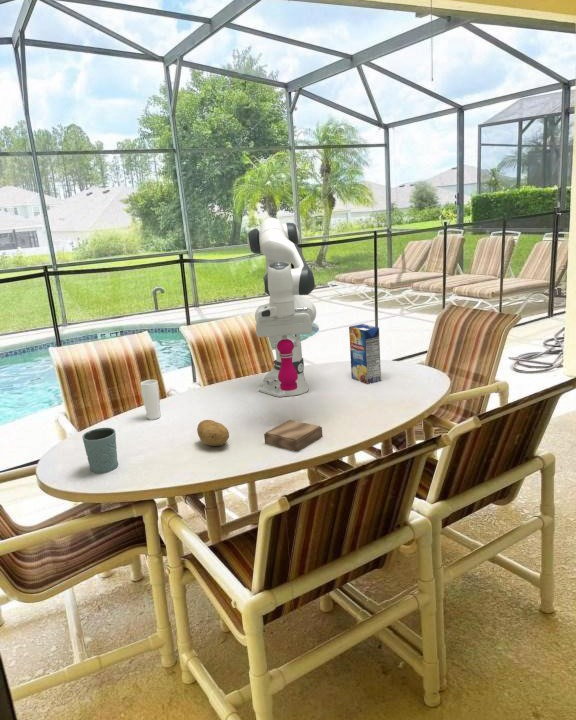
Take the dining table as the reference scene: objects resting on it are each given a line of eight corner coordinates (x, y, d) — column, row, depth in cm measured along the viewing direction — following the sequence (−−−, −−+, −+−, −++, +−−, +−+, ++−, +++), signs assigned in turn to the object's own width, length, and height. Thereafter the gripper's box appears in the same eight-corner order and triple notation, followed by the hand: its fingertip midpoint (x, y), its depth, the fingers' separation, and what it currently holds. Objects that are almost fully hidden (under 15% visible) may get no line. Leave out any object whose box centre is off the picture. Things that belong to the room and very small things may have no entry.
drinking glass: (166, 415, 225) (161, 379, 221) (155, 421, 219) (150, 385, 215) (152, 414, 227) (147, 378, 224) (142, 420, 222) (136, 384, 218)
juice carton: (351, 378, 253) (348, 326, 247) (365, 375, 256) (362, 323, 250) (367, 384, 242) (364, 330, 236) (381, 380, 246) (379, 327, 240)
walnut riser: (265, 443, 189) (263, 432, 188) (290, 429, 200) (289, 419, 199) (297, 452, 181) (296, 440, 179) (322, 436, 191) (321, 425, 190)
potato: (213, 455, 184) (210, 432, 182) (192, 443, 194) (189, 422, 192) (238, 445, 189) (235, 423, 187) (216, 435, 200) (213, 414, 198)
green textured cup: (100, 460, 187) (94, 426, 184) (127, 461, 184) (121, 427, 181) (82, 474, 177) (75, 439, 174) (109, 476, 174) (103, 440, 171)
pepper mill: (296, 391, 201) (292, 337, 195) (277, 391, 202) (272, 337, 197) (300, 385, 207) (296, 332, 202) (281, 385, 209) (276, 333, 204)
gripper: (311, 305, 200) (313, 342, 204) (254, 309, 200) (257, 347, 204) (312, 308, 194) (315, 347, 198) (253, 313, 194) (257, 351, 198)
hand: (285, 347), depth 201 cm, fingers closed on pepper mill, 6 cm apart
